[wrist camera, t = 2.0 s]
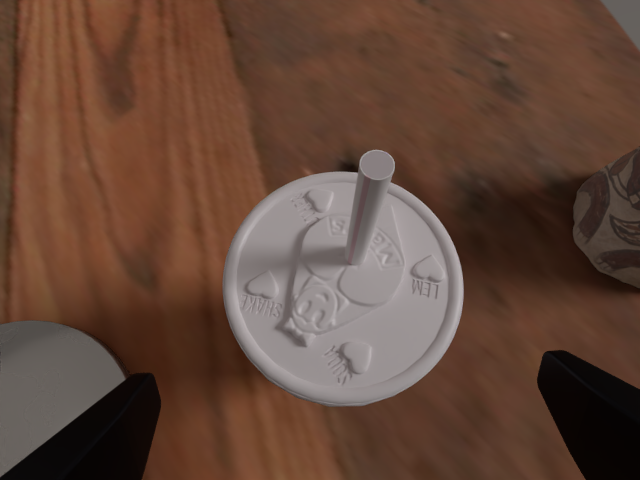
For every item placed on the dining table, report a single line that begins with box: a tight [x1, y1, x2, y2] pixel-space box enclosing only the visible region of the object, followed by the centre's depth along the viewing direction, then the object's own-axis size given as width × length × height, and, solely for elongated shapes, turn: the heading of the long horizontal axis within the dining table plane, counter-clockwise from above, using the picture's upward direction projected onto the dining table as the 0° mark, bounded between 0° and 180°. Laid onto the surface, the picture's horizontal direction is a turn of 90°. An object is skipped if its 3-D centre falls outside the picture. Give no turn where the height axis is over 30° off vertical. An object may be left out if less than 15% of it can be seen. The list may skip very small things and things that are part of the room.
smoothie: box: [223, 150, 464, 407], centre depth 12 cm, size 6×6×14 cm
